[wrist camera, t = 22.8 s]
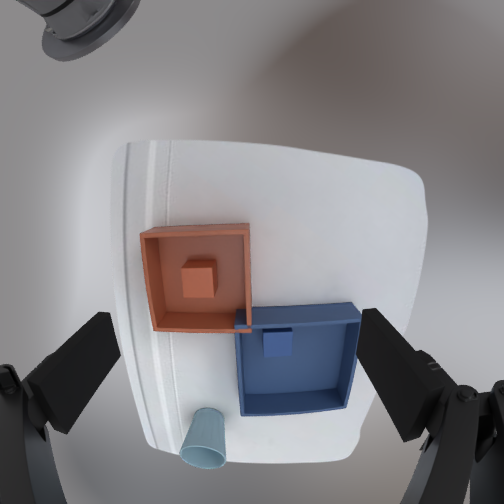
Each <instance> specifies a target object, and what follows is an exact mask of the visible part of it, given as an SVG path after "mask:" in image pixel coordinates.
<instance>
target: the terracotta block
mask: <svg viewBox="0 0 504 504" xmlns="http://www.w3.org/2000/svg"><path fill="white" fill-rule="evenodd" d="M181 277H182V287H183V296H184V298H214V297H215V294H216V291H217V288H218V280H217V264H216V259H215V260H187V262H186V263H185V264H184V265H183V266H182V267H181Z"/></svg>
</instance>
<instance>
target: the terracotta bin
mask: <svg viewBox="0 0 504 504" xmlns="http://www.w3.org/2000/svg"><path fill="white" fill-rule="evenodd" d="M140 243H141V253H142V261H143V269H144V277H145V284H146V291H147V297H148V303H149V309H150V315H151V320H152V326H153V331H161V332H185V333H235V331H236V333H252V329H251V328H249V326H248V328H249V329H239V330H235V329H234V323H235V315H236V309H246V316H247V325H250V327H251V325H252V299H251V265H250V230H249V223H241V224H211V225H187V226H166V227H154V228H151V229H149V230H147V231H144V232H142V233H140ZM215 259H216V264H217V280H218V288H217V291H216V294H215V297H214V298H184V296H183V287H182V277H181V267H182V266H183V265H184V264H185V263H186V262H187V260H215Z"/></svg>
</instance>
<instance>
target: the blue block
mask: <svg viewBox="0 0 504 504" xmlns="http://www.w3.org/2000/svg"><path fill="white" fill-rule="evenodd" d="M292 344H293V330H292V327H287V328H262V346H263V357H280V356H292Z"/></svg>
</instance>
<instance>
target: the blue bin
mask: <svg viewBox="0 0 504 504" xmlns="http://www.w3.org/2000/svg"><path fill="white" fill-rule="evenodd" d="M361 318H362V314H361V313H360V312H359V311H358V309H357V308H356V307H355V306H354V305H353V303H352V302H347V303H333V304H317V305H298V306H275V307H252V325H251V327H250V325H247V316H246V309H236V315H235V323H234V329H235V330H239V329H249V328H251V329H252V333H236V331H235V346H236V361H237V375H238V389H239V401H240V414H241V416H275V415H291V414H303V413H313V412H322V411H330V410H337V409H343V408H346V407H347V403H348V399H349V395H350V391H351V387H352V382H353V378H354V373H355V368H356V364H357V356H356V349H357V343H358V337H359V331H360V325H361ZM248 326H249V328H248ZM287 327H292V330H293V344H292V356H280V357H263V346H262V328H287Z"/></svg>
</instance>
